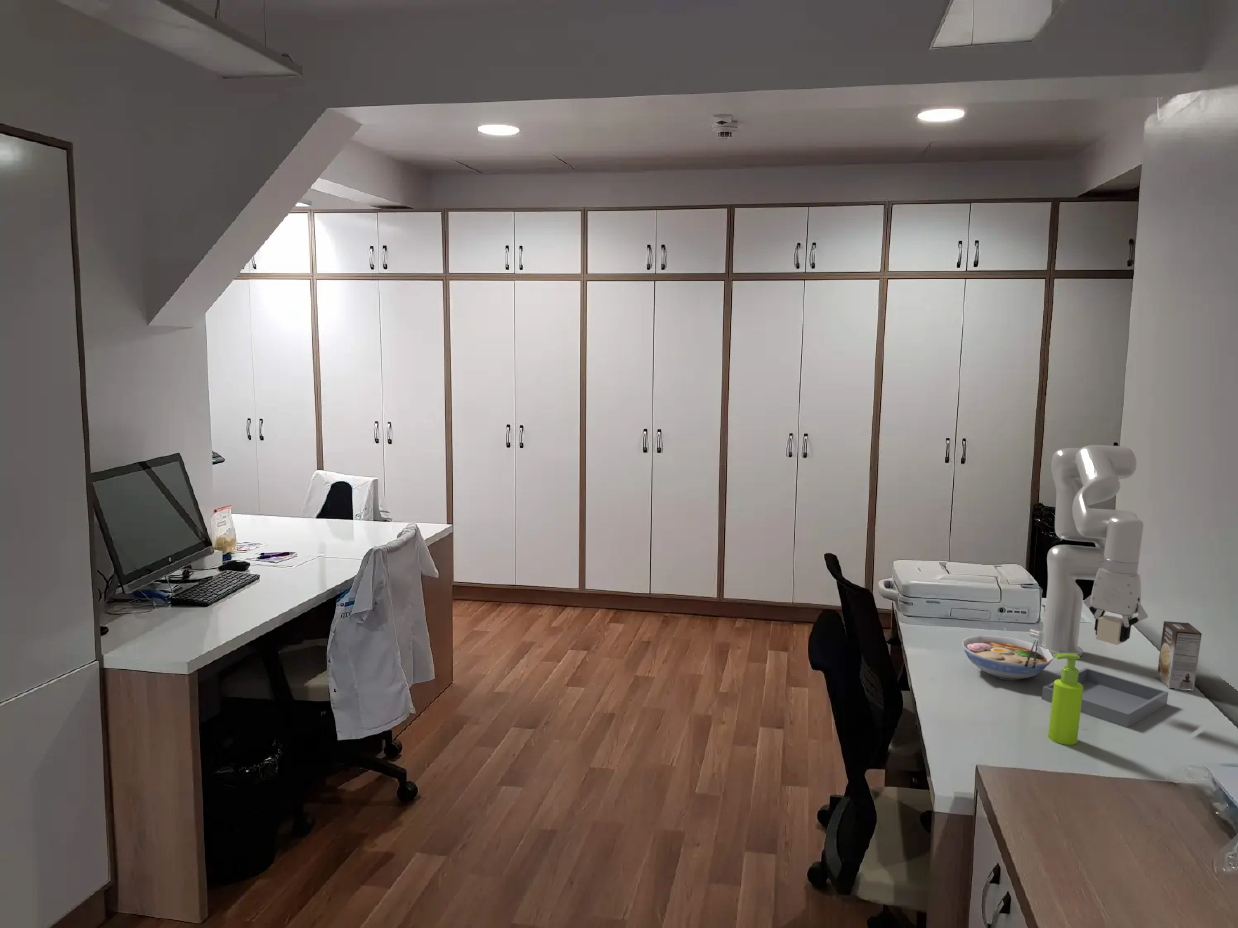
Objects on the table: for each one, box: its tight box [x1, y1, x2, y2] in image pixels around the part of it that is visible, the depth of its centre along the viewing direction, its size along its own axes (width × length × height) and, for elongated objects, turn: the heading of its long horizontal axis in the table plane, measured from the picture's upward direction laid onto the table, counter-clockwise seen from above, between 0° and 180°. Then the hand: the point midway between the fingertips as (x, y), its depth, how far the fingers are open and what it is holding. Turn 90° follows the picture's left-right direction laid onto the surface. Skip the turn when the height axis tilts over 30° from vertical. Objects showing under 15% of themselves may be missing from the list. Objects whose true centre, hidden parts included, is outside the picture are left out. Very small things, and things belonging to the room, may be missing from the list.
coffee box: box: [1156, 620, 1203, 690], centre depth 239 cm, size 9×6×16 cm
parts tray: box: [1041, 667, 1169, 729], centre depth 224 cm, size 20×24×4 cm
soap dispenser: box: [1047, 653, 1083, 746], centre depth 201 cm, size 6×7×20 cm
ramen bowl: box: [961, 634, 1054, 681], centre depth 241 cm, size 25×23×8 cm
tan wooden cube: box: [1095, 613, 1126, 646], centre depth 222 cm, size 5×5×6 cm
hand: (1111, 636), depth 222 cm, fingers closed on tan wooden cube, 5 cm apart
